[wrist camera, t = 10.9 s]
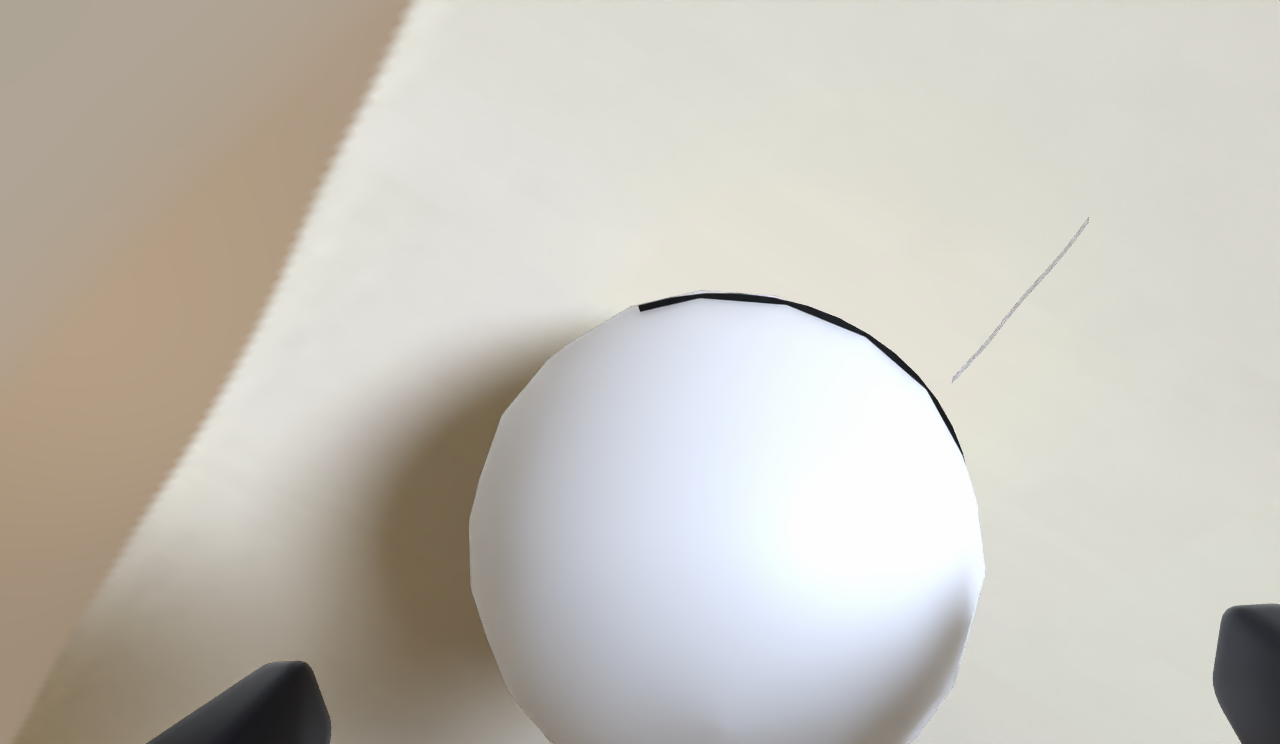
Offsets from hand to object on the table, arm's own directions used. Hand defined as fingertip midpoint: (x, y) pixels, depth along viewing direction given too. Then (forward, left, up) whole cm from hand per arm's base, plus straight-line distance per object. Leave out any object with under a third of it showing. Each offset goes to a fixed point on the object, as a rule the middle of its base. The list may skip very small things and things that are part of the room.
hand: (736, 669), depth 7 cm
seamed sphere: (-1, 0, -8) cm, 8 cm away
